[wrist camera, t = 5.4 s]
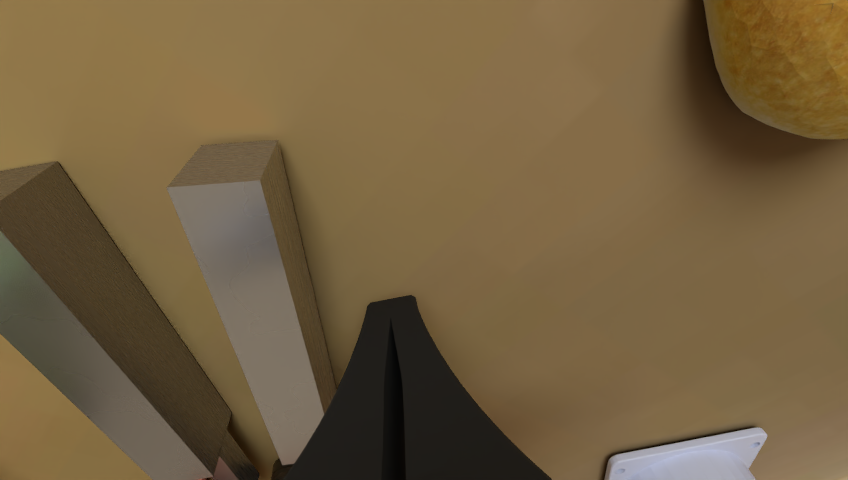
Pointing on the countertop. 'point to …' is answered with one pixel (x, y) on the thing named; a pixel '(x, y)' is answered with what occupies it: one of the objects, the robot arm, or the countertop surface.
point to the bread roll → (784, 62)
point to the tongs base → (106, 335)
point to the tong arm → (259, 282)
